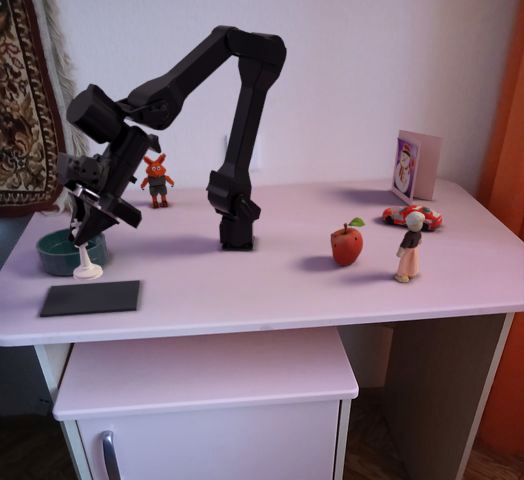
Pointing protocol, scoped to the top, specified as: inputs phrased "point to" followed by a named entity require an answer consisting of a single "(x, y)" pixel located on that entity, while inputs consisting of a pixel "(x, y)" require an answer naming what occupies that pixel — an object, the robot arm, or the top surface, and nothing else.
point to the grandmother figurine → (410, 247)
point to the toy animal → (157, 180)
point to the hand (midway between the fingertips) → (72, 243)
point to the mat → (91, 298)
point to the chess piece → (85, 261)
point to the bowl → (68, 252)
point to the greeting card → (416, 165)
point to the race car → (400, 213)
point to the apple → (347, 243)
